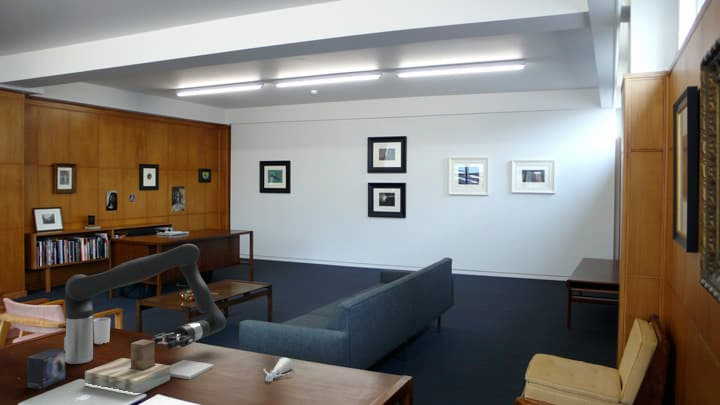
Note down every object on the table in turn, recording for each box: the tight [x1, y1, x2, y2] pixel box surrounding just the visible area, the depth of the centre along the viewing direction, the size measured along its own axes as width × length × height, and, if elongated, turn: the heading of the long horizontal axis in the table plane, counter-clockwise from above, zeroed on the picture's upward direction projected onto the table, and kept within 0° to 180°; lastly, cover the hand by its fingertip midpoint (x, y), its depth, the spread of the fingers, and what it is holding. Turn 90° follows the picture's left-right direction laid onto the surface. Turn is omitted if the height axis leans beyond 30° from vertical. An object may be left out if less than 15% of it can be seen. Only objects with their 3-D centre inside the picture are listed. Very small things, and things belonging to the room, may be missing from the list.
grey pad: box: [169, 359, 215, 380], centre depth 194 cm, size 14×14×1 cm
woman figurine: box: [263, 357, 294, 383], centre depth 191 cm, size 12×4×18 cm
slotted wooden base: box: [84, 357, 171, 394], centre depth 180 cm, size 22×16×5 cm
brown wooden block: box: [130, 339, 156, 371], centre depth 182 cm, size 5×5×12 cm
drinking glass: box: [93, 317, 111, 345], centre depth 227 cm, size 7×7×10 cm
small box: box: [26, 348, 66, 390], centre depth 179 cm, size 11×6×10 cm, turn 168°
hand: (159, 344), depth 190 cm, fingers open, 8 cm apart
